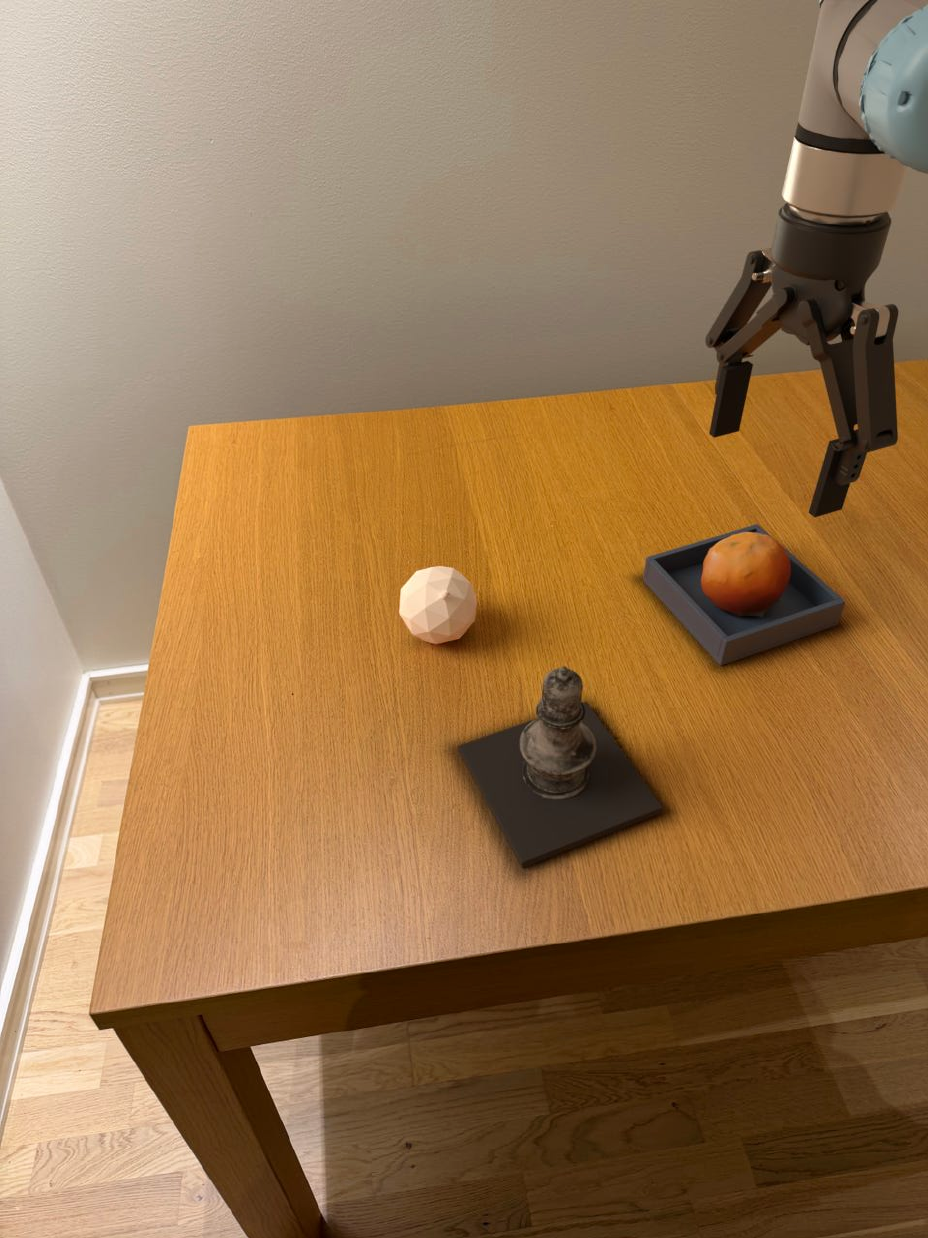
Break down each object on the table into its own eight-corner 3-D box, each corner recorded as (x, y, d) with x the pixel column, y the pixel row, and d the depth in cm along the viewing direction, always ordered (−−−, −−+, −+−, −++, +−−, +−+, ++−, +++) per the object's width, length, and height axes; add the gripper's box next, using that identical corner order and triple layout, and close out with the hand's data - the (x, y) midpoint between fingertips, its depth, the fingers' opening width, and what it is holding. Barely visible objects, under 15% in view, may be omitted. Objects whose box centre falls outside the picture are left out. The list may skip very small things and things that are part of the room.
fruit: (792, 632, 80) (762, 559, 77) (711, 639, 85) (680, 571, 82) (814, 581, 85) (787, 511, 82) (737, 592, 91) (708, 526, 88)
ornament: (484, 607, 86) (501, 588, 78) (436, 665, 84) (449, 651, 77) (428, 561, 86) (440, 537, 78) (379, 618, 84) (387, 599, 76)
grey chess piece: (513, 747, 72) (516, 641, 64) (584, 740, 73) (596, 634, 65) (524, 806, 68) (529, 701, 60) (600, 799, 69) (615, 693, 60)
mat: (661, 813, 68) (663, 807, 68) (521, 869, 65) (522, 863, 65) (586, 707, 77) (586, 701, 76) (458, 751, 73) (457, 745, 73)
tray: (837, 625, 84) (846, 601, 82) (720, 666, 80) (726, 642, 78) (751, 546, 93) (757, 523, 91) (642, 580, 89) (646, 557, 87)
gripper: (1025, 256, 54) (914, 537, 68) (767, 155, 71) (721, 397, 85) (930, 277, 52) (836, 562, 66) (688, 168, 69) (654, 413, 83)
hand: (771, 469), depth 76 cm, fingers open, 13 cm apart
